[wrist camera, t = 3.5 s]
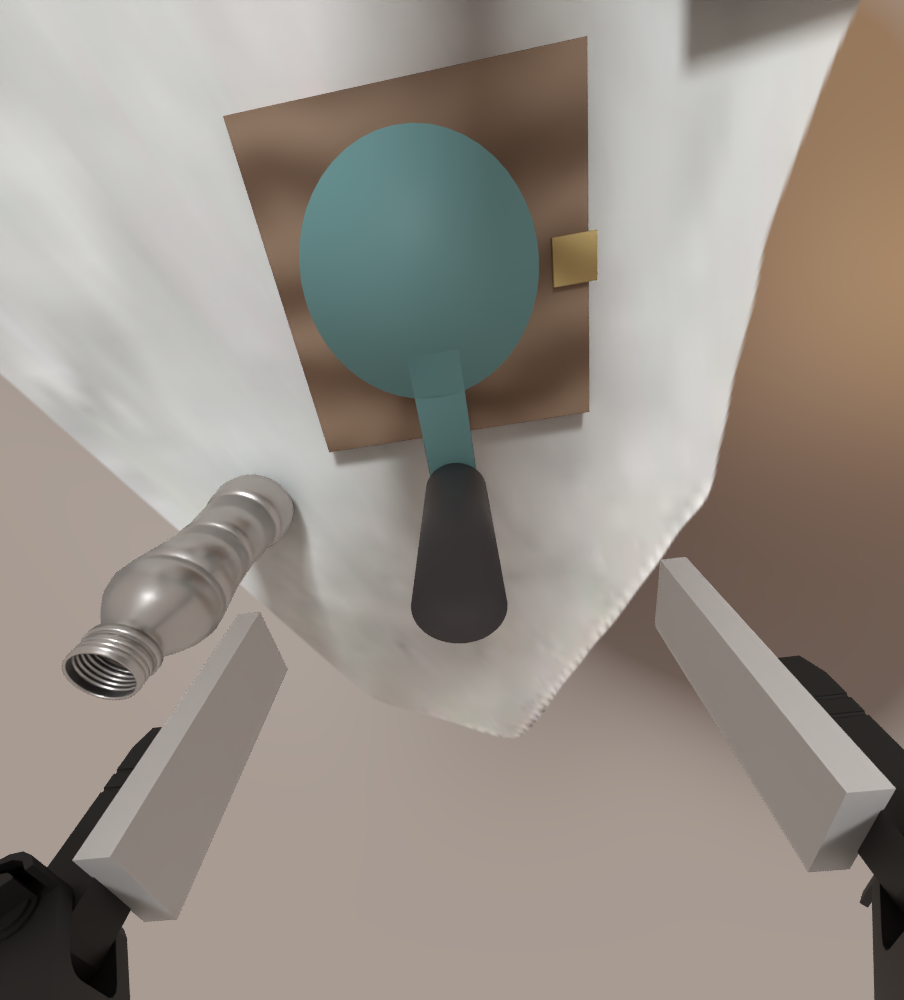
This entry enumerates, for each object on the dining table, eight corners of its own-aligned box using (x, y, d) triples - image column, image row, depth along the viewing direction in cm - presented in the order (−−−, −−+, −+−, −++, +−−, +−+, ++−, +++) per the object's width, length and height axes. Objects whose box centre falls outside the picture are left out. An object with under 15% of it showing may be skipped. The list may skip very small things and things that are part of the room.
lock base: (234, 125, 26) (93, 15, 16) (588, 48, 24) (687, -130, 14) (334, 448, 36) (288, 509, 26) (589, 408, 34) (648, 457, 24)
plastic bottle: (289, 538, 40) (160, 731, 22) (220, 510, 39) (25, 694, 21) (309, 486, 38) (182, 658, 20) (237, 454, 36) (29, 610, 18)
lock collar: (290, 174, 18) (47, -9, 7) (518, 126, 17) (630, -156, 6) (380, 504, 25) (328, 659, 14) (541, 481, 24) (611, 626, 14)
